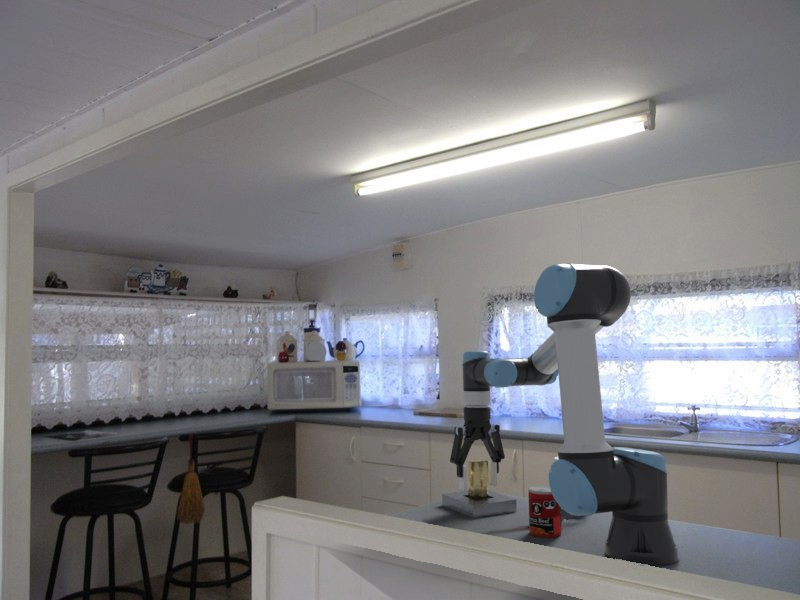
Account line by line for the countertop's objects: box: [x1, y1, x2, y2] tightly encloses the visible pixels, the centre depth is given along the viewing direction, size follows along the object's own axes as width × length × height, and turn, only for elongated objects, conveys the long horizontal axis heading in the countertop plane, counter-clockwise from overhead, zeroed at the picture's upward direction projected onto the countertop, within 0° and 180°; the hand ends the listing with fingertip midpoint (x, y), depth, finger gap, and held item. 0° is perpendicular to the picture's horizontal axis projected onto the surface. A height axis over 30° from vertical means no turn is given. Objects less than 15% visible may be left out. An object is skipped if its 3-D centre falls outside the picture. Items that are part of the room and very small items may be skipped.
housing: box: [441, 489, 518, 519], centre depth 189 cm, size 16×14×4 cm
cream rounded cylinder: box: [467, 458, 489, 500], centre depth 189 cm, size 6×6×13 cm
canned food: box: [528, 484, 563, 539], centre depth 168 cm, size 8×8×11 cm
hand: (478, 487), depth 189 cm, fingers open, 9 cm apart
